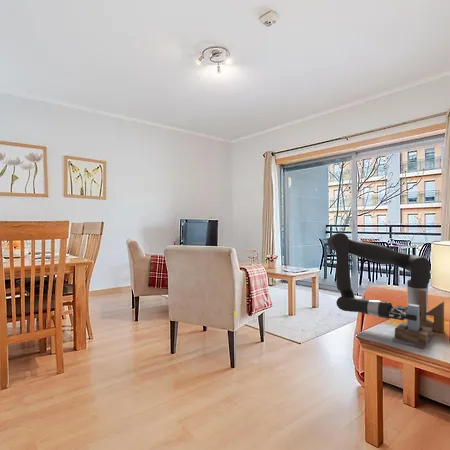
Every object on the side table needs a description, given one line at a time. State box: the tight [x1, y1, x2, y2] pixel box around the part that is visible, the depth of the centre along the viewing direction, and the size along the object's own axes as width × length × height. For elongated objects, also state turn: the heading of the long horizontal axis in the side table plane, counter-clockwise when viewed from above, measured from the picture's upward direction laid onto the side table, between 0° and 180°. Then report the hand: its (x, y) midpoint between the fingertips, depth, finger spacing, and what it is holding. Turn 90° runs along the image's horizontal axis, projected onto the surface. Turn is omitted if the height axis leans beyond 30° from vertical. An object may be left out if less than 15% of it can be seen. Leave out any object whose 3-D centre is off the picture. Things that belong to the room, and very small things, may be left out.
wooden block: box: [418, 290, 445, 334], centre depth 152 cm, size 4×11×18 cm, turn 45°
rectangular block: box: [407, 304, 420, 332], centre depth 142 cm, size 3×4×14 cm
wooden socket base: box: [391, 321, 435, 350], centre depth 142 cm, size 20×12×4 cm, turn 136°
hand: (418, 316), depth 140 cm, fingers open, 7 cm apart
